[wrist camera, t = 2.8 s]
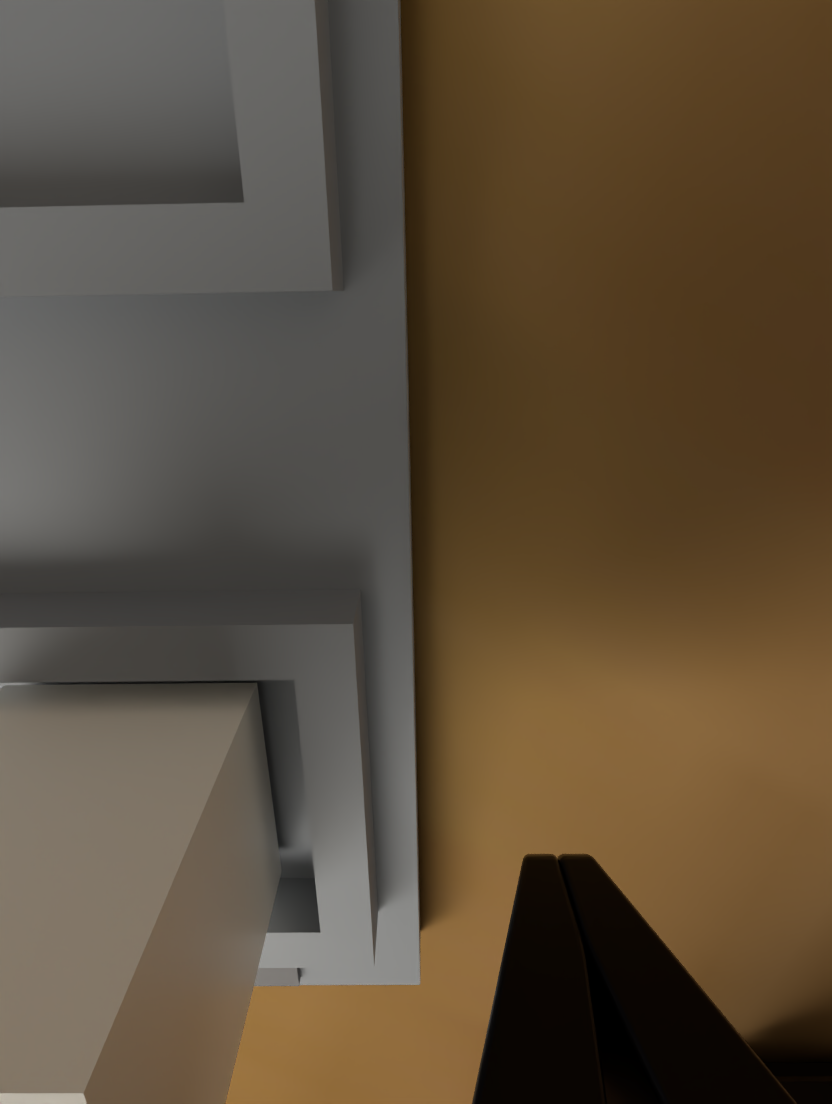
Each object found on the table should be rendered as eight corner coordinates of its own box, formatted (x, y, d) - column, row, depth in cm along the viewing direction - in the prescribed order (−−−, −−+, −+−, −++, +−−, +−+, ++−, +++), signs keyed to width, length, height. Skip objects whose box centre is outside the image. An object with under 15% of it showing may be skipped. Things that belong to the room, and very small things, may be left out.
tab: (281, 870, 10) (141, 1446, 5) (61, 872, 10) (-293, 1443, 5) (257, 683, 9) (35, 1208, 4) (4, 685, 9) (-549, 1207, 4)
